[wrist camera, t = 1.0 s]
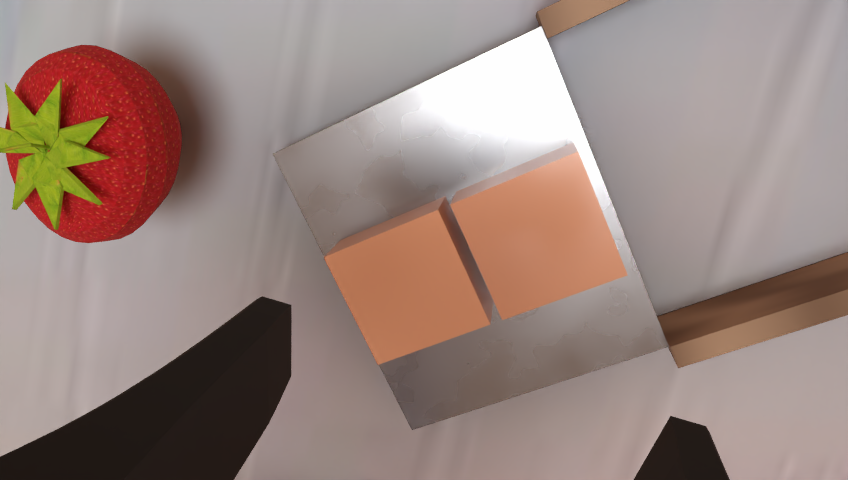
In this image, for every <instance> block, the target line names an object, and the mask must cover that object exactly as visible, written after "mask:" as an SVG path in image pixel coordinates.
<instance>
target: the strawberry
mask: <svg viewBox="0 0 848 480" xmlns="http://www.w3.org/2000/svg"><path fill="white" fill-rule="evenodd" d="M5 87H6V95H7V103H8V116H7V121H6V128H1V127H0V153H6V157H7V161H8V165H9V169H10V173H11V176H12V178H13V181H14V183H15V192H14V199H13V207H12V209H14V210H17V209H18V207H19V206H20V205H21V204H22V203H23V201H24V202H25V203H26V204H27V205H28V207H29V208H30V209H31V211H32V212H33V213H34V214H35V215H36V217H37V218H38V219H39V220H40V221H41V222H42V223H43V224H45V225H46V226H47V227H48V228H49V229H50V230H52V231H53V232H55V233H57V234H58V235H60V236H61V237H63V238H66V239H69V240H72V241H75V242H84V243H93V242H102V241H110V240H115V239H120V238H123V237H125V236H127V235H129V234H131V233H133V232H134V231H135V230H137V229H138V228H139V227H140V226H142V225H143V224H144V223H145V222H146V220H147V219H148V218H149V217H150V216H151V215H152V214H153V212H154V211H155V210H156V209H157V208H158V207H159V205H160V204H161V203H162V202H163V200H164V199H165V198H166V196H167V195H168V193H169V191H170V189H171V187H172V185H173V183H174V181H175V177H176V174H177V171H178V166H179V160H180V153H181V146H182V133H181V127H180V122H179V119H178V116H177V113H176V111H175V109H174V107H173V105H172V103H171V101H170V100H169V98H168V96H167V94H166V92H165V91H164V89H163V88H162V87H161V85H160V84H159V82H158V81H157V80H156V79H155V78H154V77H153V76H152V75H151V74H150V73H149V72H148V71H147V70H146V69H144V68H143V67H141V66H140V65H138V64H137V63H135V62H133V61H131V60H129V59H127V58H125V57H123V56H121V55H119V54H117V53H115V52H112V51H110V50H107V49H104V48H101V47H98V46H92V45H79V46H75V47H71V48H67V49H64V50H61V51H58V52H55V53H52V54H49V55H47V56H45V57H43V58H42V59H40V60H38V61H36V62H35V63H34V64H33V65H32V66H31V67H30V68H29V69H28V70H27V71H26V72H25V74H24V75H23V77H22V78H21V80H20V82H19V83H18V85H17V87H16V89H15V92H13V91H12V90H11V89H10V88H9V87H8V85H7V84H6V83H5Z"/></svg>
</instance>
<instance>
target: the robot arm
mask: <svg viewBox="0 0 848 480" xmlns="http://www.w3.org/2000/svg"><path fill="white" fill-rule="evenodd" d="M290 377H291V305H289V304H286V303H283V302H279V301H276V300H272V299H269V298H266V297H260V298H259V299H257V300H255V301H254V302H253V303H251V304H250V305H249V306H247V307H246V308H245V309H243V310H242V311H241V312H239V313H238V314H237V315H235V316H234V317H233V318H231V319H230V320H229V321H227V322H226V323H225V324H223V325H222V326H221V327H219V328H218V329H217V330H215V331H214V332H212V333H211V334H210V335H208V336H207V337H206V338H204V339H203V340H201V341H200V342H199V343H197V344H196V345H194V346H193V347H191V348H190V349H189V350H187V351H186V352H184V353H183V354H181V355H180V356H178V357H177V358H176V359H174V360H173V361H171V362H170V363H168V364H167V365H165V366H164V367H162V368H161V369H159V370H158V371H156V372H155V373H153V374H152V375H150V376H148V377H147V378H145V379H144V380H142V381H140V382H139V383H137V384H136V385H134V386H132V387H131V388H129V389H128V390H126V391H125V392H123V393H121V394H120V395H118V396H116V397H115V398H113V399H111V400H110V401H108V402H106V403H104V404H103V405H101V406H99V407H98V408H96V409H94V410H92V411H90V412H89V413H87V414H85V415H83V416H81V417H79V418H78V419H76V420H74V421H72V422H70V423H68V424H66V425H65V426H63V427H61V428H59V429H57V430H55V431H53V432H51V433H49V434H47V435H45V436H43V437H41V438H38V439H36V440H34V441H32V442H30V443H28V444H26V445H24V446H22V447H20V448H18V449H16V450H14V451H12V452H9V453H7V454H5V455H3V456H1V457H0V480H234V478H235V477H236V475H237V474H238V472H239V470H240V469H241V467H242V466H243V464H244V462H245V461H246V459H247V458H248V456H249V455H250V453H251V451H252V450H253V448H254V446H255V445H256V443H257V442H258V440H259V438H260V437H261V435H262V434H263V432H264V430H265V429H266V427H267V425H268V424H269V422H270V420H271V418H272V416H273V414H274V412H275V410H276V408H277V405H278V403H279V401H280V399H281V397H282V395H283V393H284V390H285V388H286V386H287V384H288V382H289V380H290ZM634 480H730V479H729V477H728V475H727V473H726V470H725V468H724V466H723V463H722V461H721V459H720V456H719V454H718V452H717V449H716V447H715V444H714V442H713V440H712V437H711V435H710V433H709V431H708V429H707V427H706V426H703V425H700V424H696V423H693V422H689V421H686V420H682V419H679V418H676V417H672V416H670V418H669V420H668V422H667V423H666V425H665V427H664V428H663V430H662V432H661V434H660V435H659V437H658V439H657V440H656V442H655V444H654V446H653V447H652V449H651V451H650V453H649V454H648V456H647V458H646V459H645V461H644V463H643V465H642V466H641V468H640V470H639V472H638V473H637V475H636V477H635V478H634Z"/></svg>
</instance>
